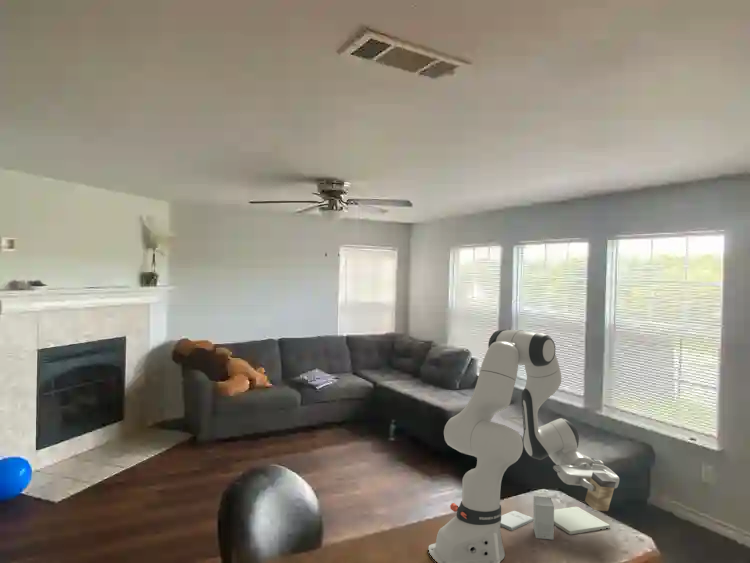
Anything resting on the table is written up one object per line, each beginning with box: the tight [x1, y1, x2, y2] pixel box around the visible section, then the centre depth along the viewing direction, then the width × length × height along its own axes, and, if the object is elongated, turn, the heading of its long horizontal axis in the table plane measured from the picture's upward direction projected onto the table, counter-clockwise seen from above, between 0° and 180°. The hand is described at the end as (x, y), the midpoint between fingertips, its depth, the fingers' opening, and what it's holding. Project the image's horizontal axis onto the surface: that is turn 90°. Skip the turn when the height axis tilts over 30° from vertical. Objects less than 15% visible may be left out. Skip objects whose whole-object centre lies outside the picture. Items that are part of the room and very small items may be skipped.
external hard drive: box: [500, 510, 533, 531], centre depth 182 cm, size 2×8×12 cm
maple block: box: [584, 472, 616, 512], centre depth 170 cm, size 5×5×10 cm
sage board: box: [554, 506, 611, 535], centre depth 183 cm, size 16×16×1 cm
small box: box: [532, 495, 555, 541], centre depth 173 cm, size 8×6×10 cm
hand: (602, 490), depth 169 cm, fingers closed on maple block, 5 cm apart
